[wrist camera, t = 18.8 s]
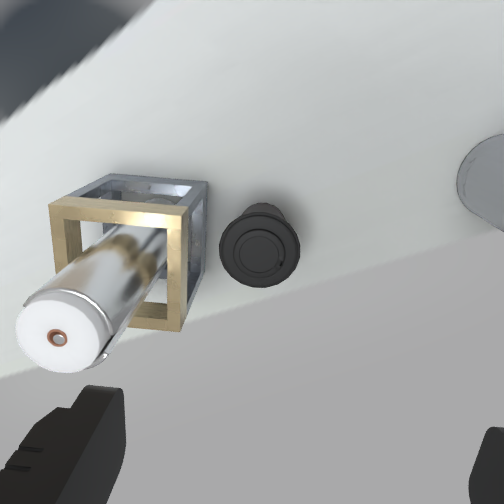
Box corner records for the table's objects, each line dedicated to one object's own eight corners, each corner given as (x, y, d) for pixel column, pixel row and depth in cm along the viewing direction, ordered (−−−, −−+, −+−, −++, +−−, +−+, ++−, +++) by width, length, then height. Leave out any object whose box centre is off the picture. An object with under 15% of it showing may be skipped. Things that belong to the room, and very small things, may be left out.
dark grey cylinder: (300, 251, 50) (305, 288, 41) (235, 260, 51) (225, 297, 42) (292, 186, 48) (295, 209, 38) (222, 196, 49) (209, 221, 39)
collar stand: (207, 181, 48) (181, 215, 35) (204, 271, 52) (180, 332, 39) (110, 173, 48) (48, 204, 35) (115, 263, 53) (60, 320, 39)
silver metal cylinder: (161, 259, 52) (65, 396, 29) (122, 221, 50) (-11, 333, 27) (198, 226, 50) (128, 345, 27) (159, 186, 49) (50, 275, 25)
